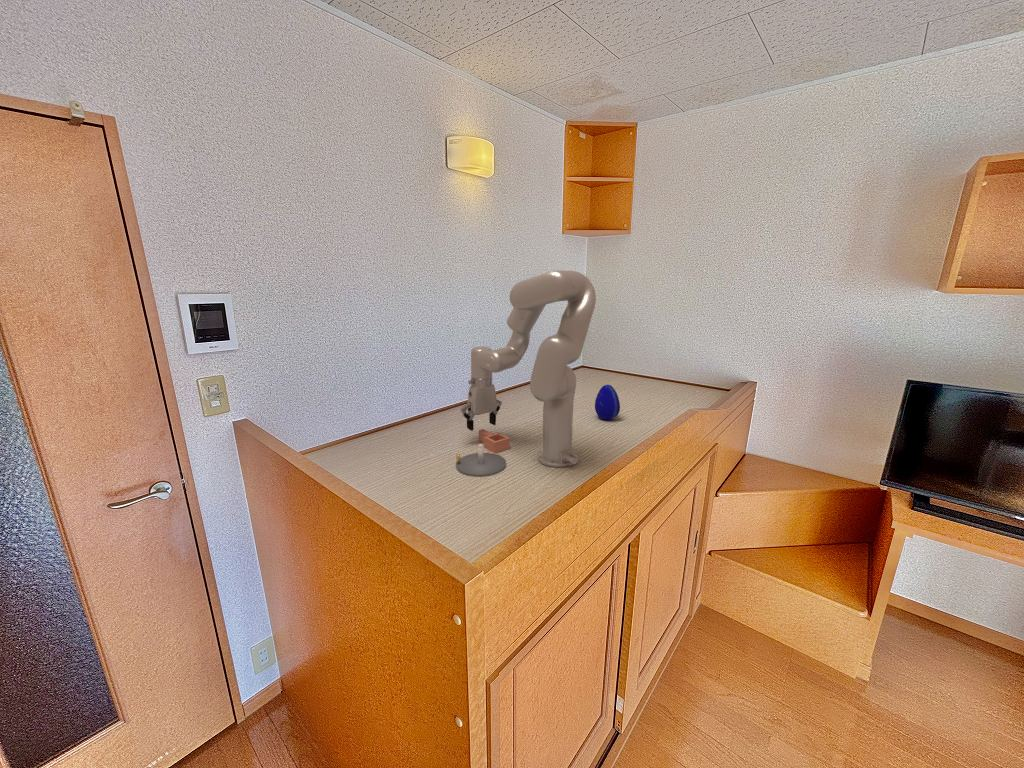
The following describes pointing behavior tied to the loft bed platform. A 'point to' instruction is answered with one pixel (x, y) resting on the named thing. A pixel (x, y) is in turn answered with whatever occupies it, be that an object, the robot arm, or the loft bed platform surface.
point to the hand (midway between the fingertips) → (481, 426)
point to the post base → (481, 468)
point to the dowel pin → (458, 458)
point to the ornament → (607, 403)
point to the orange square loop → (494, 441)
